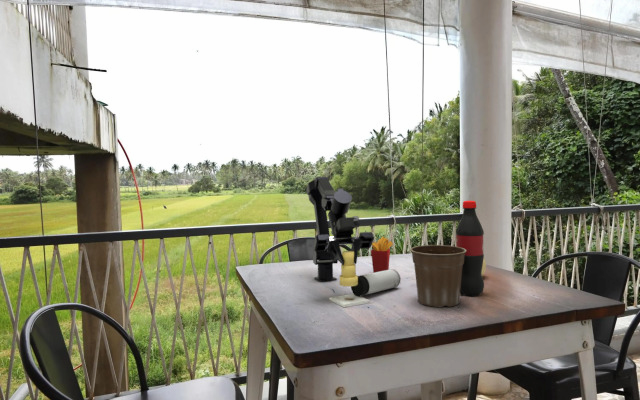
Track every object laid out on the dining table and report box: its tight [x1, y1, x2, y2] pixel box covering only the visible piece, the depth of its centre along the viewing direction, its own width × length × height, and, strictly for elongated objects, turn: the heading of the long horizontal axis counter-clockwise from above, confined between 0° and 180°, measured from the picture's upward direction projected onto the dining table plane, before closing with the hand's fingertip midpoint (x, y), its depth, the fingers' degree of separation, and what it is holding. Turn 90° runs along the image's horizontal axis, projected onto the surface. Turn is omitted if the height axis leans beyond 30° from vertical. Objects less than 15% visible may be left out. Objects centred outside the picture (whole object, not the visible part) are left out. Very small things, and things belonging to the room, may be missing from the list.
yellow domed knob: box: [339, 250, 359, 287], centre depth 129 cm, size 6×6×10 cm
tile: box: [328, 293, 370, 308], centre depth 129 cm, size 9×9×1 cm
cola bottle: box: [455, 200, 485, 297], centre depth 134 cm, size 8×8×30 cm
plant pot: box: [410, 244, 466, 308], centre depth 126 cm, size 16×16×16 cm
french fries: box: [370, 236, 394, 273], centre depth 166 cm, size 9×8×15 cm
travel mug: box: [350, 268, 401, 297], centre depth 138 cm, size 6×7×20 cm
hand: (349, 263), depth 127 cm, fingers closed on yellow domed knob, 4 cm apart
